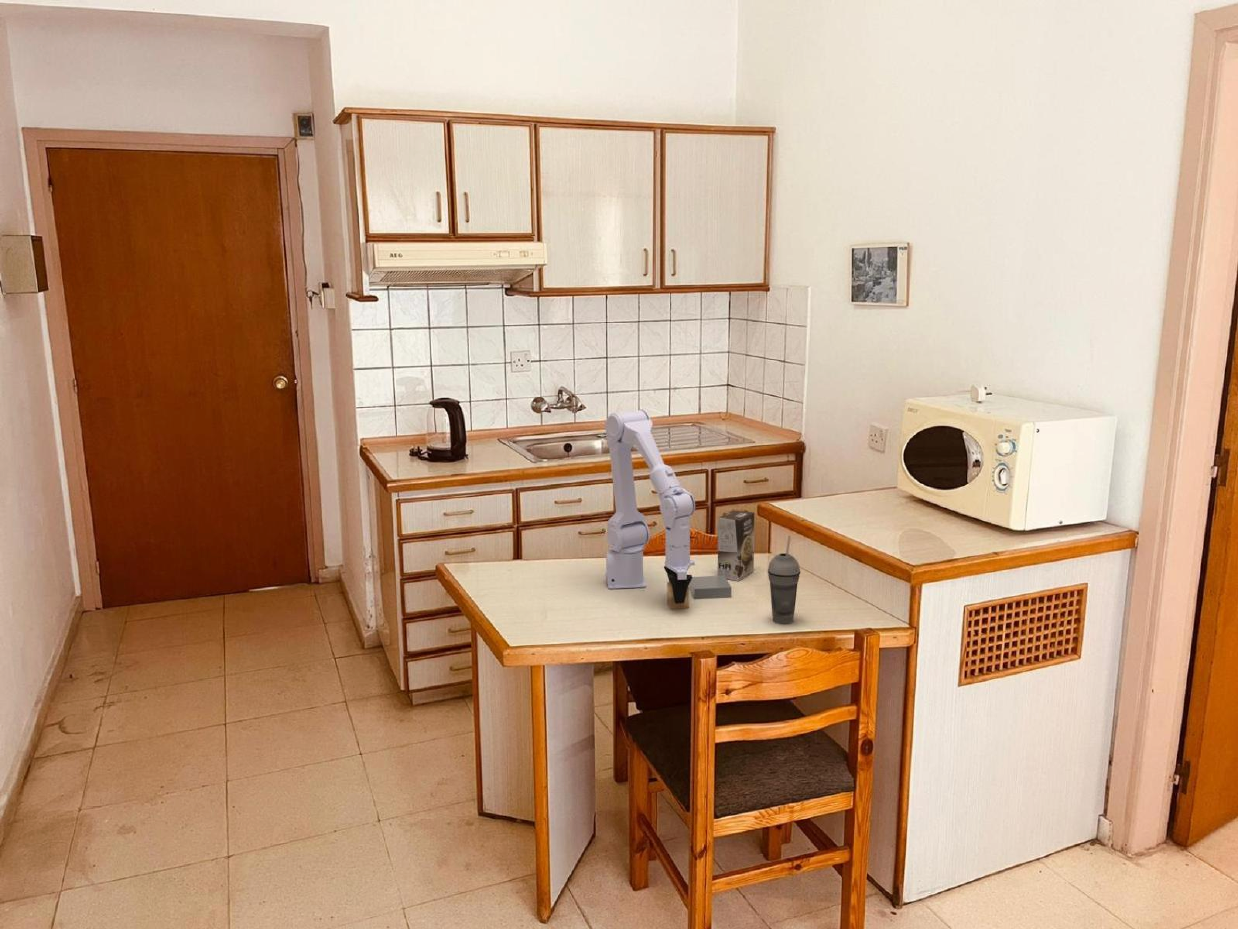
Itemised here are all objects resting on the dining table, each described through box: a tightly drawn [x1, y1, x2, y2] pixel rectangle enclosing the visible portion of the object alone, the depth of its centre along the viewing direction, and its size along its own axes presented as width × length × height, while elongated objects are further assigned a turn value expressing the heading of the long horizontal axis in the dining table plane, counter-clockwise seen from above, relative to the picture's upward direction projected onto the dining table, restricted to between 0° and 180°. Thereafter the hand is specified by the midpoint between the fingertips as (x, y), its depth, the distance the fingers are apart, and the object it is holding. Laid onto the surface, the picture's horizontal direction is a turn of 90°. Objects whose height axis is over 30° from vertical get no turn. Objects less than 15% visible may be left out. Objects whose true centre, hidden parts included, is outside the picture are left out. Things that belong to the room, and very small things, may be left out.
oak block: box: [666, 581, 690, 610], centre depth 229 cm, size 4×4×5 cm
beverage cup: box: [767, 535, 801, 625], centre depth 216 cm, size 7×7×20 cm
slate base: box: [688, 575, 732, 600], centre depth 238 cm, size 9×9×2 cm
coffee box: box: [717, 509, 755, 582], centre depth 248 cm, size 9×6×16 cm
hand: (677, 599), depth 229 cm, fingers closed on oak block, 4 cm apart
